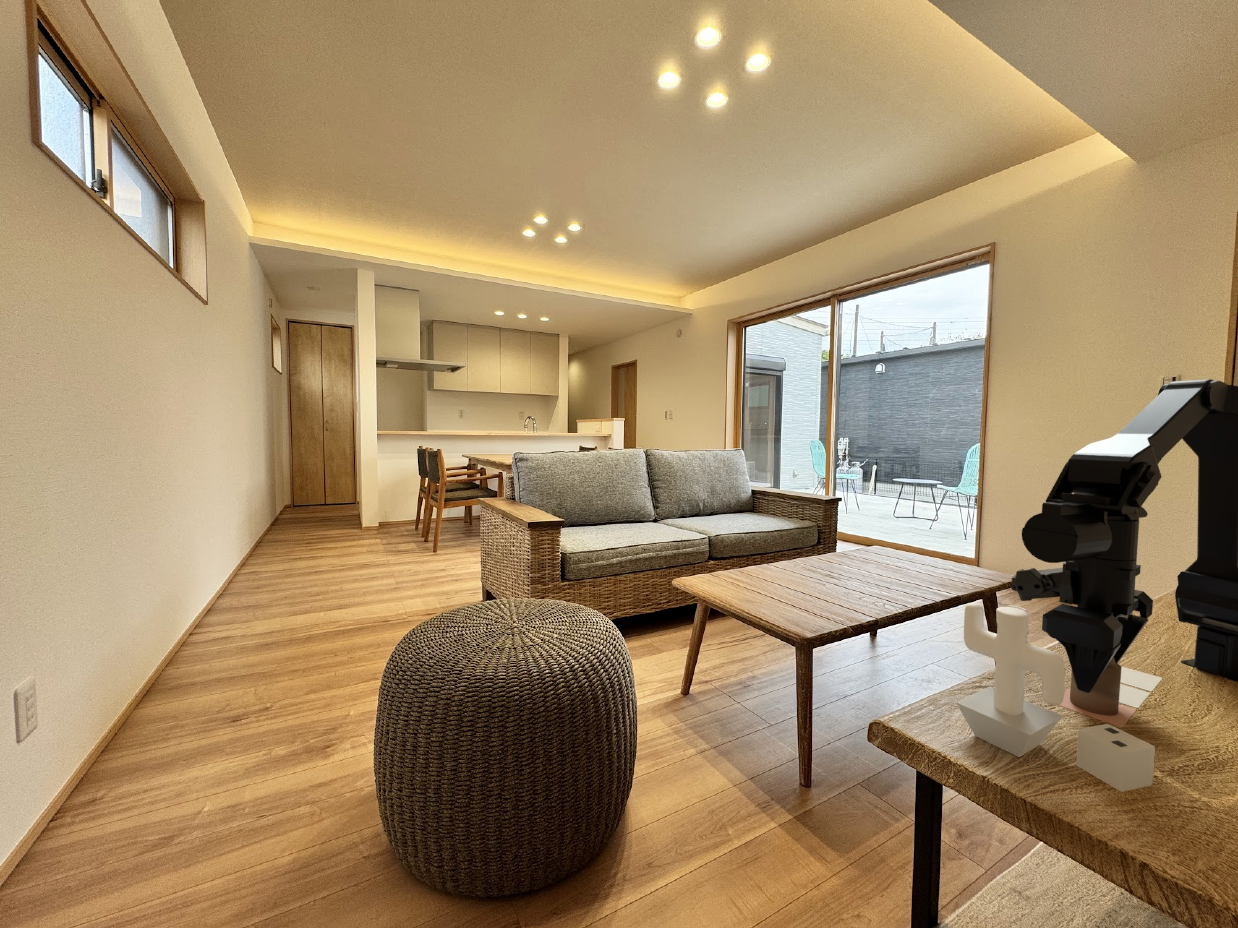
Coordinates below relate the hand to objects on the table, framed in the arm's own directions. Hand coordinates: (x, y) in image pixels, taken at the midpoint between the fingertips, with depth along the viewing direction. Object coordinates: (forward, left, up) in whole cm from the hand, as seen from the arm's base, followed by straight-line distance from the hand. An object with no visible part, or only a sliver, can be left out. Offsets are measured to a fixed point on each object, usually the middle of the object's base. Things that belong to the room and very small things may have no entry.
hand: (1095, 680), depth 63 cm
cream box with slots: (+11, +10, -4) cm, 15 cm away
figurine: (+16, +3, -4) cm, 17 cm away
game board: (-6, -3, -4) cm, 8 cm away
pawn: (0, 0, -3) cm, 3 cm away
